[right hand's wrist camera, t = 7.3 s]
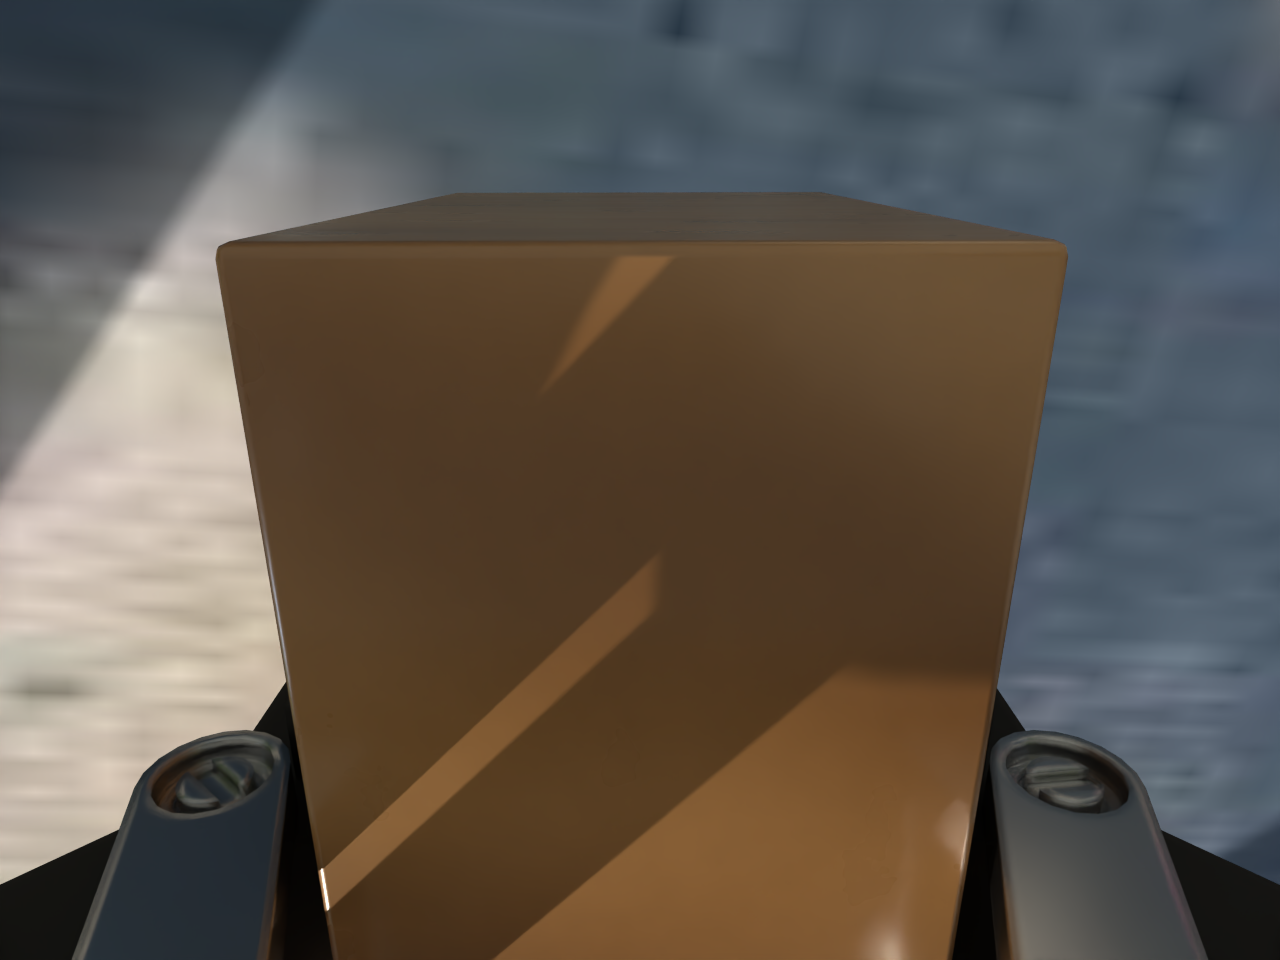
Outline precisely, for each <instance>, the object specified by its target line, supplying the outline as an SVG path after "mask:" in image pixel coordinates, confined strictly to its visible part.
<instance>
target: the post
mask: <svg viewBox="0 0 1280 960" xmlns="http://www.w3.org/2000/svg"><path fill="white" fill-rule="evenodd" d="M1067 260H1068V254H1067V248H1066V246H1065V244H1063V243H1061V242H1058V241H1056V240H1054V239H1049V238H1044V237H1039V236H1034V235H1029V234H1024V233H1020V232H1015V231H1010V230H1005V229H1000V228H995V227H990V226H985V225H980V224H975V223H970V222H965V221H960V220H955V219H950V218H945V217H940V216H936V215H931V214H926V213H921V212H916V211H911V210H906V209H901V208H896V207H891V206H886V205H881V204H876V203H871V202H866V201H861V200H857V199H852V198H847V197H842V196H837V195H832V194H827V193H822V192H689V193H454V194H450V195H445V196H440V197H436V198H431V199H426V200H422V201H417V202H412V203H408V204H403V205H398V206H393V207H389V208H384V209H379V210H375V211H370V212H365V213H361V214H356V215H351V216H346V217H342V218H337V219H332V220H328V221H323V222H318V223H314V224H309V225H304V226H299V227H295V228H290V229H285V230H281V231H276V232H271V233H267V234H262V235H257V236H253V237H248V238H243V239H238V240H234V241H229V242H227V243H225V244H223V245H221V246H219V247H218V249H217V253H216V265H217V271H218V277H219V283H220V289H221V295H222V301H223V307H224V313H225V319H226V325H227V331H228V337H229V342H230V348H231V354H232V360H233V366H234V372H235V378H236V384H237V390H238V396H239V402H240V408H241V414H242V420H243V426H244V432H245V438H246V444H247V450H248V456H249V462H250V468H251V474H252V480H253V486H254V492H255V498H256V503H257V509H258V515H259V521H260V527H261V533H262V539H263V545H264V551H265V557H266V563H267V569H268V575H269V581H270V587H271V593H272V599H273V605H274V611H275V617H276V623H277V629H278V635H279V641H280V647H281V653H282V658H283V664H284V670H285V676H286V682H287V688H288V694H289V700H290V706H291V712H292V718H293V724H294V730H295V736H296V742H297V748H298V754H299V760H300V766H301V772H302V778H303V784H304V790H305V796H306V802H307V808H308V813H309V819H310V825H311V831H312V837H313V843H314V849H315V855H316V861H317V867H318V873H319V879H320V885H321V891H322V897H323V903H324V909H325V915H326V921H327V927H328V933H329V939H330V945H331V951H332V957H333V960H952V956H953V950H954V944H955V938H956V932H957V926H958V920H959V913H960V907H961V901H962V895H963V889H964V883H965V877H966V871H967V865H968V859H969V853H970V847H971V841H972V835H973V829H974V823H975V817H976V811H977V805H978V799H979V792H980V786H981V780H982V774H983V768H984V762H985V756H986V750H987V744H988V738H989V732H990V726H991V720H992V714H993V708H994V702H995V696H996V690H997V684H998V677H999V671H1000V665H1001V659H1002V653H1003V647H1004V641H1005V635H1006V629H1007V623H1008V617H1009V611H1010V605H1011V599H1012V593H1013V587H1014V581H1015V575H1016V569H1017V563H1018V556H1019V550H1020V544H1021V538H1022V532H1023V526H1024V520H1025V514H1026V508H1027V502H1028V496H1029V490H1030V484H1031V478H1032V472H1033V466H1034V460H1035V454H1036V448H1037V442H1038V435H1039V429H1040V423H1041V417H1042V411H1043V405H1044V399H1045V393H1046V387H1047V381H1048V375H1049V369H1050V363H1051V357H1052V351H1053V345H1054V339H1055V333H1056V327H1057V321H1058V314H1059V308H1060V302H1061V296H1062V290H1063V284H1064V278H1065V272H1066V266H1067Z"/></svg>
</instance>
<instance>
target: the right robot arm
mask: <svg viewBox="0 0 1280 960" xmlns="http://www.w3.org/2000/svg"><path fill="white" fill-rule="evenodd" d="M0 960H333V957H332V951H331V945H330V939H329V933H328V927H327V921H326V915H325V909H324V903H323V897H322V891H321V885H320V879H319V873H318V867H317V861H316V855H315V849H314V843H313V837H312V831H311V825H310V819H309V813H308V808H307V802H306V796H305V790H304V784H303V778H302V772H301V766H300V760H299V754H298V748H297V742H296V736H295V730H294V724H293V718H292V712H291V706H290V700H289V694H288V688H287V682H286V683H285V684H284V686H283V687H282V689H281V690H280V692H279V693H278V695H277V696H276V698H275V699H274V701H273V702H272V704H271V705H270V707H269V708H268V710H267V711H266V713H265V714H264V715H263V717H262V718H261V720H260V721H259V723H258V724H257V726H256V727H255V729H254V730H253V731H250V730H241V731H228V732H221V733H217V734H213V735H209V736H205V737H201V738H199V739H196V740H194V741H191V742H189V743H186V744H184V745H181V746H179V747H177V748H176V749H174V750H172V751H171V752H169V753H167V754H166V755H164V756H163V757H161V758H159V759H158V760H157V761H156V762H155V763H154V764H153V765H152V766H150V767H149V768H148V769H147V770H146V771H145V772H144V773H143V774H142V776H141V778H140V779H139V781H138V783H137V784H136V786H135V788H134V790H133V793H132V796H131V798H130V801H129V804H128V807H127V809H126V812H125V815H124V818H123V820H122V823H121V826H120V829H119V830H117V831H115V832H113V833H110V834H108V835H106V836H104V837H102V838H100V839H98V840H95V841H93V842H91V843H89V844H87V845H85V846H82V847H80V848H78V849H76V850H74V851H72V852H70V853H67V854H65V855H63V856H61V857H59V858H57V859H55V860H52V861H50V862H48V863H46V864H44V865H42V866H39V867H37V868H35V869H33V870H31V871H29V872H27V873H24V874H22V875H20V876H18V877H16V878H14V879H11V880H9V881H7V882H5V883H3V884H1V885H0ZM952 960H1280V885H1278V884H1276V883H1274V882H1272V881H1270V880H1268V879H1266V878H1263V877H1261V876H1259V875H1257V874H1255V873H1253V872H1250V871H1248V870H1246V869H1244V868H1242V867H1240V866H1237V865H1235V864H1233V863H1231V862H1229V861H1227V860H1225V859H1222V858H1220V857H1218V856H1216V855H1214V854H1212V853H1209V852H1207V851H1205V850H1203V849H1201V848H1199V847H1196V846H1194V845H1192V844H1190V843H1188V842H1186V841H1184V840H1181V839H1179V838H1177V837H1175V836H1173V835H1171V834H1168V833H1166V832H1164V831H1162V830H1161V829H1160V826H1159V823H1158V820H1157V818H1156V815H1155V812H1154V809H1153V807H1152V804H1151V801H1150V798H1149V796H1148V793H1147V790H1146V788H1145V786H1144V784H1143V783H1142V781H1141V779H1140V778H1139V776H1138V774H1137V773H1136V772H1135V771H1134V770H1133V769H1132V768H1131V767H1130V766H1128V765H1127V764H1126V763H1125V762H1124V761H1123V760H1122V759H1121V758H1119V757H1117V756H1116V755H1114V754H1113V753H1111V752H1109V751H1108V750H1106V749H1104V748H1103V747H1101V746H1099V745H1096V744H1094V743H1091V742H1089V741H1086V740H1084V739H1081V738H1079V737H1075V736H1071V735H1067V734H1063V733H1059V732H1052V731H1039V730H1030V731H1025V729H1024V728H1023V726H1022V725H1021V723H1020V722H1019V720H1018V719H1017V717H1016V716H1015V714H1014V713H1013V711H1012V710H1011V708H1010V707H1009V706H1008V704H1007V703H1006V701H1005V700H1004V698H1003V697H1002V695H1001V694H1000V692H999V691H998V689H997V690H996V696H995V702H994V708H993V714H992V720H991V726H990V732H989V738H988V744H987V750H986V756H985V762H984V768H983V774H982V780H981V786H980V792H979V799H978V805H977V811H976V817H975V823H974V829H973V835H972V841H971V847H970V853H969V859H968V865H967V871H966V877H965V883H964V889H963V895H962V901H961V907H960V913H959V920H958V926H957V932H956V938H955V944H954V950H953V956H952Z"/></svg>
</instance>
